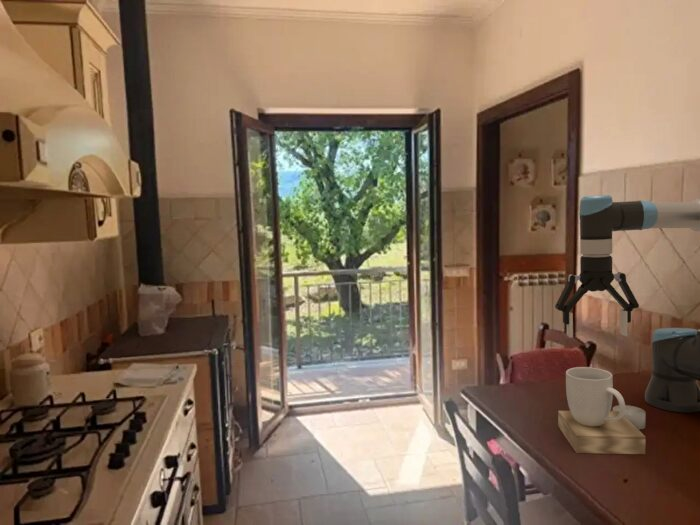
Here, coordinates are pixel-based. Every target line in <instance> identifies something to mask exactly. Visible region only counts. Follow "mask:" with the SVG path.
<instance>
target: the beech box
mask: <svg viewBox="0 0 700 525" xmlns="http://www.w3.org/2000/svg"><path fill="white" fill-rule="evenodd" d="M557 414H558V415H557V418H558V421H557V422H558V423H557V424H558V425H557V426H558V428H559V430H560V431H561V432H562V434H563V435H564V437H565V438H566V440H567V441H568V443H569V444H570V446H571V447H572V448H573V450H574V451H575V453H576V454H604V455H605V454H606V455H607V454H608V455H609V454H612V455H616V454H617V455H646V441H647V440H646V436H645V435H644V434H643V433H642V432H641V430H638V429H637V428H636V427H635V426H634V425H633V424H632V423H631V422H630V421H629V420H628V419H627V418H626V417H625V416H623V417H622V418H621V419H619V420H617V421H605V423H604V424H603V425H601V426H596V427H591V426H585V425H582V424H579V423H578V422H577V421H576V420H575V419H574V417H573V416H572V414H571V412H570V410H558V412H557ZM618 414H619V411H613V410H610V413H609V417H616V416H618Z"/></svg>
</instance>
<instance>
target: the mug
mask: <svg viewBox="0 0 700 525" xmlns="http://www.w3.org/2000/svg"><path fill="white" fill-rule="evenodd" d="M613 382H614V381H613V373H611V372H610V371H608V370H606V369H602V368H597V367H596V368H595V367H590V366H576V367H571V368H568V369H567V370H566V371H565V387H566V388H565V392H566V399H567V405H568V408H569V411H570V412H571V414H572V416H573V417H574V419H575V420H576V421H577V422H578V423H579V424H582V425H585V426H591V427H596V426H601V425H603V424H604V423H605V421H617V420H619V419H621V418H622V417H623V416H624V414H625V405H626V403H625V402H626V401H625V399H624V397H623V395H622V394H621V393H620V392H619V391H618V390H616V389H615V388H613V387H614V385H613V384H614V383H613ZM613 396H614V397H615V398H616V400H617V403H618V405H619V406H620V411H619V414H618V416H616V417H609V413H610V411H612V407H613V406H612V405H613V399H614V397H613Z"/></svg>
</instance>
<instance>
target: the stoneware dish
mask: <svg viewBox="0 0 700 525" xmlns="http://www.w3.org/2000/svg"><path fill="white" fill-rule="evenodd" d="M612 411H620V406H619V404H617V405H615V406H612ZM624 416H625V417H626V418H627V419H628V420H629V421H630V422H631V423H632V424H633V425H634V426H635V427H636V428H637V429H638V430H639V431H641V430H643V429H646V411H645V410H644V409H643V408H640V407H639V406H633V405H628V404H627V405H626V404H625V414H624ZM640 429H641V430H640Z"/></svg>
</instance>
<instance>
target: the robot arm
mask: <svg viewBox="0 0 700 525" xmlns="http://www.w3.org/2000/svg"><path fill="white" fill-rule="evenodd" d="M578 215H579V241H580V242H579V245H580V246H579V247H580V249H579V250H580V251H579V252H580V253H579V254H581V256H580V258H579V259H580V260H579V261H580V266H579V267H580V268H579V269H580V270H579V271H580V272H579V275H577V274H576V275H575V274H571V273H569V274H567V280H566V284H565V286H564V288H563V290H562V291H561V294H560V296H559V298H558V299H557V301H556V304H555V306H554V308H555V309H556V310H558V311H560V312H562V323H563V324H564V325H566V336H567V337H569V338H574V320H573V318H574V317H573V316H574V315H573V314H574V313H573V312H572V311H571V310H572V309H573V308H574V307H575V306H576V305H577V303H578V302H579V301H580V300H581V299H582V298H583V297H584V296H585V294H587V293H588V292H604V291H606V292H608V293H609V295H611V296H612V297H613V299H614V300H615V301H616V302H617V303H618V304H619V305H620V306H621V308H622V309H619V334H620V335H622V336H623V337H628V324H629V323H630V324H631V322H632V312H633V311H634V310H635V309H639V307H640V304H639V302H638V301H637V298H636V297H635V295H634V293H633V291H632V290H631V288H630V286H629V284H628V281H627V275H626V274H625V273H624V272H621V271H619V272H616V273H613V257H612V255H611V254H613V232H618V231H620V232H622V231H624V232H625V231H642V230H648V229H691V230H692V231H694V232H700V198H695V199H693V200H692V201H676V202H675V201H671V202H670V201H669V202H667V201H666V202H665V201H662V202H659V201H657V202H652V201H650V200H632V201H631V200H630V201H613V197H612V195H610V194H605V195H588V196H586V195H585V196H582V198H581V199H580V202H579V213H578ZM614 280H615V282H617V283H618V285H619V287H620V288H621V291H622V292H623V294H624V296H625V298H626V299H627V300H625V298H624V297H623V296H622V295H620V293H619V292H618V291H617V290H616V288H615V287H614V286H613V285H612V284H611V283H612V282H613V281H614ZM578 281H580V283H581V284H580V286H578V288H577V290H576V291H575V292H574V293H573V295H572V296H571V297H570V295H571V293H572V291H573V289H574V287H575V284H577V282H578ZM569 297H570V298H569ZM699 382H700V328H699V329H695V328H689V327H663V328H657V329H655V330H654V331H653V334H652V341H651V377H650V380H649V381H648V385H647V387H646V389H645V392H644V401H645V402H646V403H647V404H648V405H650V406H652V407H654V408H658V409H660V410H663V411H669V412H676V413H687V414H689V413H698V412H700V385H699Z"/></svg>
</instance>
